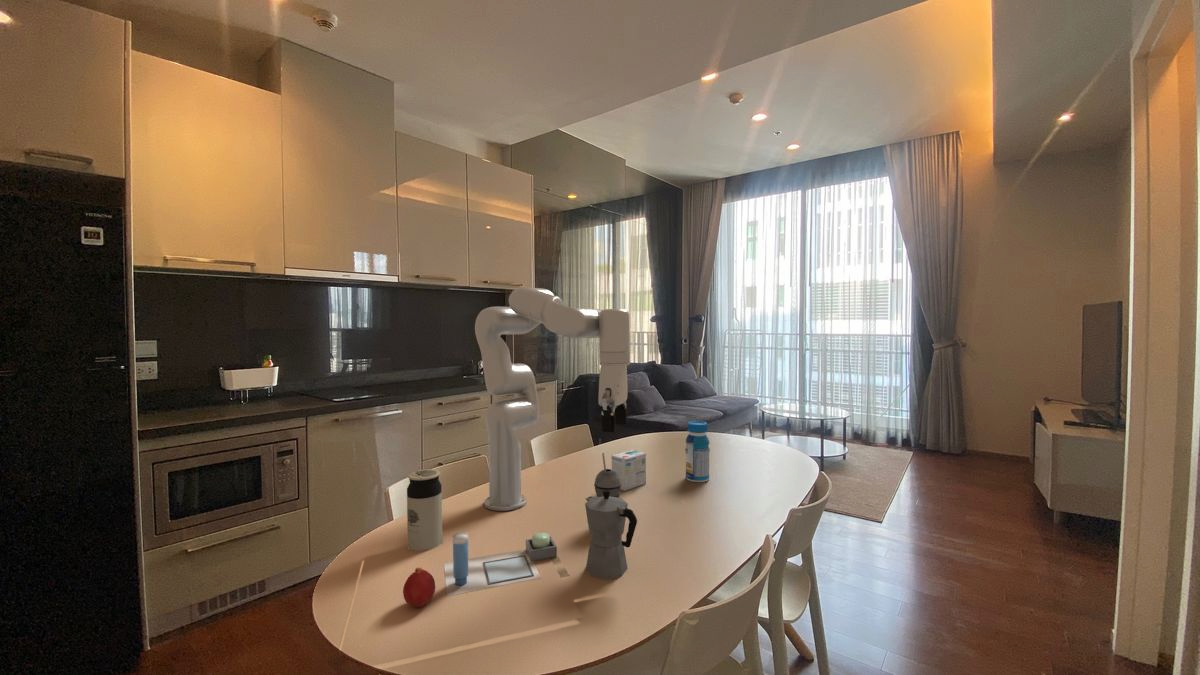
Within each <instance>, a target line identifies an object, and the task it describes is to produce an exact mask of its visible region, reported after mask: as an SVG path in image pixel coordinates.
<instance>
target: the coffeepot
mask: <svg viewBox="0 0 1200 675" xmlns="http://www.w3.org/2000/svg"><path fill="white" fill-rule="evenodd" d="M609 495H610V491H609V490H603V497H596V496H588V497H585V498H584V499H585V500H586V502H585V503H584V505H585V511H586V512H585V513H586V518H587V519H586V520H587V525H588V526H587V528H588V532H589V534H590V535H591V537H590V538H591V540H590V542H589V546H588V554H587V559H586V565H585V569H586V571H587V572H588V574H589V575H590V577H594V578H598V579H603V580H611V579H616V578H622V577H623V575H625V573H626V572H627V571H628V569H629V568H628V564H627V558H626V553H625V552H626V550H625V548H630V547H631V545H632V544H631V543H632V541H633V537H634V534H635V530H636V527H637V524H638V518H637V516H636V514H635V512H634V510H632V509H631V508H628V505H629V504H628V502H626V500H624V499H623V498H622V497H619V498H617V497H611V496H609ZM626 518H627V519H628V522H629V523H628V526H627V527H628V529H627V531H626V535H625V536H626V537H625V540H623V539H622V538H623V537H622V536H623V534H624V532H625V525H626Z"/></svg>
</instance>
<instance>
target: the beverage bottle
mask: <svg viewBox="0 0 1200 675" xmlns="http://www.w3.org/2000/svg"><path fill="white" fill-rule="evenodd" d="M687 432H688V434H687V437H686V438H685V443H686V446H685V448H684V451H685V478H686V479H687V481H690V482H692V483H693V482H694V483H705V481H706V482H708V481H709V480H710V452H711V451H710V447H709V445H710V439H709V437H708V436H707V433H708V423H707V422H706V421H700V420H692V421H688V422H687Z"/></svg>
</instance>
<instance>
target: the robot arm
mask: <svg viewBox="0 0 1200 675" xmlns="http://www.w3.org/2000/svg"><path fill="white" fill-rule="evenodd" d="M508 304H509V305H508V306H490V307H486V308H484V309H482V310H481V311H480V312H479V313H478V314H477V317H476V318H475V324H474V333H475V337H476V341H477V344H478V346H479V350H480V353H481V361H482V368H483V375H484V382H485V386H486V387H485V388H486V390H487V392H488V394H490V395H491V396H495V397H501V396H509V395H514V396H513V397H514V398H508V399H507V398H506V399H501V400H498V401H494V402H492V403H491V404H490V405H489V406H488V407H487V408H486V410H485V414H484V420H485V425H486V426H485V427H486V429H487V438H488V464H489V466H488V467H489V469H488V472H489V485H488V486H489V496H488V497H486V498H485V499H484V504H483V506H484V507H485V508H486V509H488V510H489V511H490V510H491V511H497V512H505V511H506V512H508V511H514V510H517V509H520V508H521V507H524V506H525V505H526V504H527V496H526V495H524V494H522V448H521V447H522V446H521V442H520V440H519V437H518V436H517V434H516V432H515V431H517V430H521V429H525V428H528V427H531V426H534V425H535V424H537V422H538V421H539V417H540V404H539V398H538V391H537V383H536V378H535V375H534V372H533V370H532V369H531V368H530V366H528V365H527V364H525V363H519V362H517V363H512V359H511V354H510V352H511V351H510V349H509V347H508V345H507V343H506V341H504V339H503V338H502V337H501V336H502V335H525V334H527V333H530V332H531V331H533V330H534V329H535V328H536V327H538V326H539V325H540V324H543V326H544V327H545V328H546V329H547V330H548V331H549V332H552V333H553V334H556V335H560V336H562V337H565V338H568V339H573V340H574V339H599V340H598V342H599V343H598V344H599V346H598V348H599V350H598V351H599V352H598V356H599V358H598V359H599V360H598V361H599V363H598V364H599V366H600V370H599V378H598V380H599V381H598V405H599V406H600V408H601V431H602V432H603V433H612V434H613V433H615V432H616V425H627V423H628V421H627V418H628V416H627V411H628V410H627V406H628V405H627V400H628V395H629V394H628V391H629V390H628V389H629V388H628V385H629V384H628V370H627V368H628V367H627V366H630V365H631V362H630V358H631V357H630V351H631V350H630V342H631V341H630V340H631V339H630V338H631V337H630V328H631V327H630V324H631V323H630V313H629V311H628V310H627V309H625V308H624V309H623V308H605V309H600V308H599V309H596V308H575V307H571V306H567V305H564V303H563V300H562V299H561V298H560V296H557V295H555V294H554V293H553V291H550V289H546V288H541V287H529V286H527V287H526V286H523V287H517V288H516V289H514V290H513V291H511V293H510V294H509V297H508Z"/></svg>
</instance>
